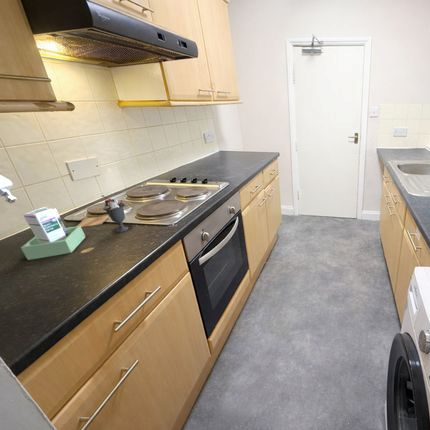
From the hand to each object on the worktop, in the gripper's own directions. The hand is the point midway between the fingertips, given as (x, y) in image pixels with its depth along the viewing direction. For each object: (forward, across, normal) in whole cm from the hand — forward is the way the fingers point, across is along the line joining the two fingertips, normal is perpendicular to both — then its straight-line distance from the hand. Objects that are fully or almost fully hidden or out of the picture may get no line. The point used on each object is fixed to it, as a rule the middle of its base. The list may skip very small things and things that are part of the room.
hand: (0, 206), depth 83 cm
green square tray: (+19, +1, +5) cm, 19 cm away
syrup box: (+19, +1, +5) cm, 19 cm away
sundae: (+29, +12, -5) cm, 32 cm away
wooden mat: (+17, +22, +7) cm, 28 cm away
